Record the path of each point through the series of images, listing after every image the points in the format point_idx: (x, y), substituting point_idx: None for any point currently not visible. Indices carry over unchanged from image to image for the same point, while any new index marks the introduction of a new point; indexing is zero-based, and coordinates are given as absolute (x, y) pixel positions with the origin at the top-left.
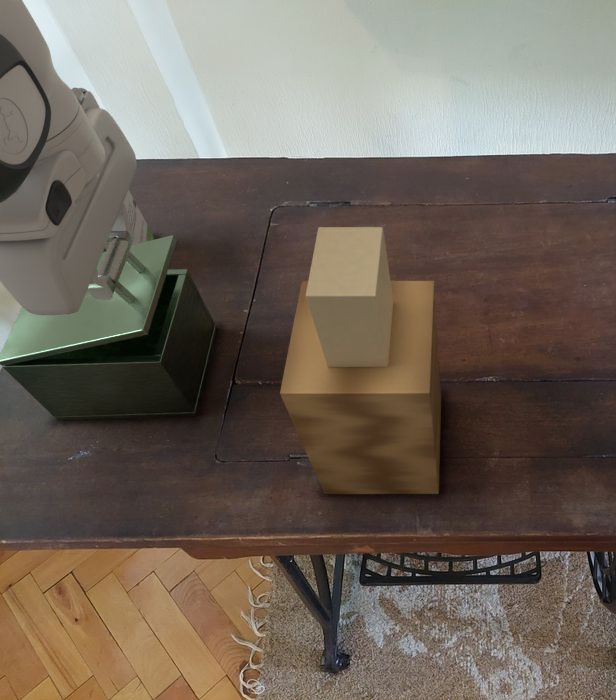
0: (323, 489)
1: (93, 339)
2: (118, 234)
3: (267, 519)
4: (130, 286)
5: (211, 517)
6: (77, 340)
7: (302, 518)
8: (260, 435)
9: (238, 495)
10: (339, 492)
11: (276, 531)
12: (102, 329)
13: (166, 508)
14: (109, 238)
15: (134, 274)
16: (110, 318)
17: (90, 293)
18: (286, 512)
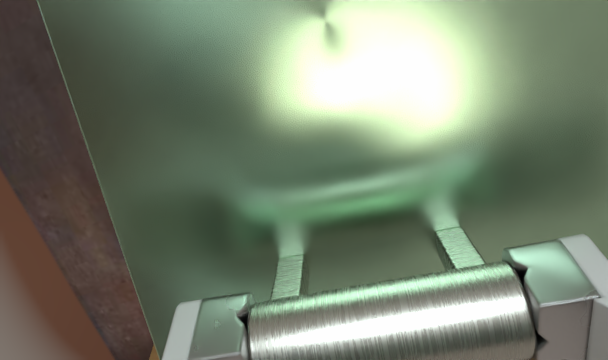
0: (151, 352)
1: (107, 193)
2: (561, 350)
3: (89, 286)
4: (363, 231)
5: (55, 217)
6: (96, 114)
7: (111, 323)
8: None
9: (107, 240)
10: None
11: (79, 301)
12: (155, 209)
13: (34, 145)
14: (537, 312)
15: (429, 216)
16: (206, 219)
17: (170, 333)
18: (110, 304)
